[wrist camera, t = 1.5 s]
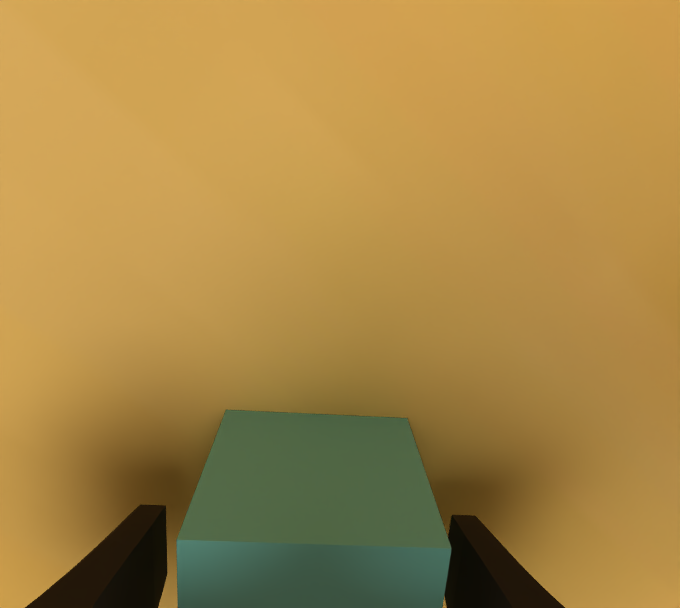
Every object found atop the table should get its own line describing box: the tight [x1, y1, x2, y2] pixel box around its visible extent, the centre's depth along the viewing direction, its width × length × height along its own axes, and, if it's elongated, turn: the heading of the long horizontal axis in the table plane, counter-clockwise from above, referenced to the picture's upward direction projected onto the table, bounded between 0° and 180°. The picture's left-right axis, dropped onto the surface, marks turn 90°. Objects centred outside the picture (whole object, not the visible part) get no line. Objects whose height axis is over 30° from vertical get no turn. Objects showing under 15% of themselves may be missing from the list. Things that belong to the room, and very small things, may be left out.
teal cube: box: [177, 410, 452, 608], centre depth 12 cm, size 5×5×5 cm
